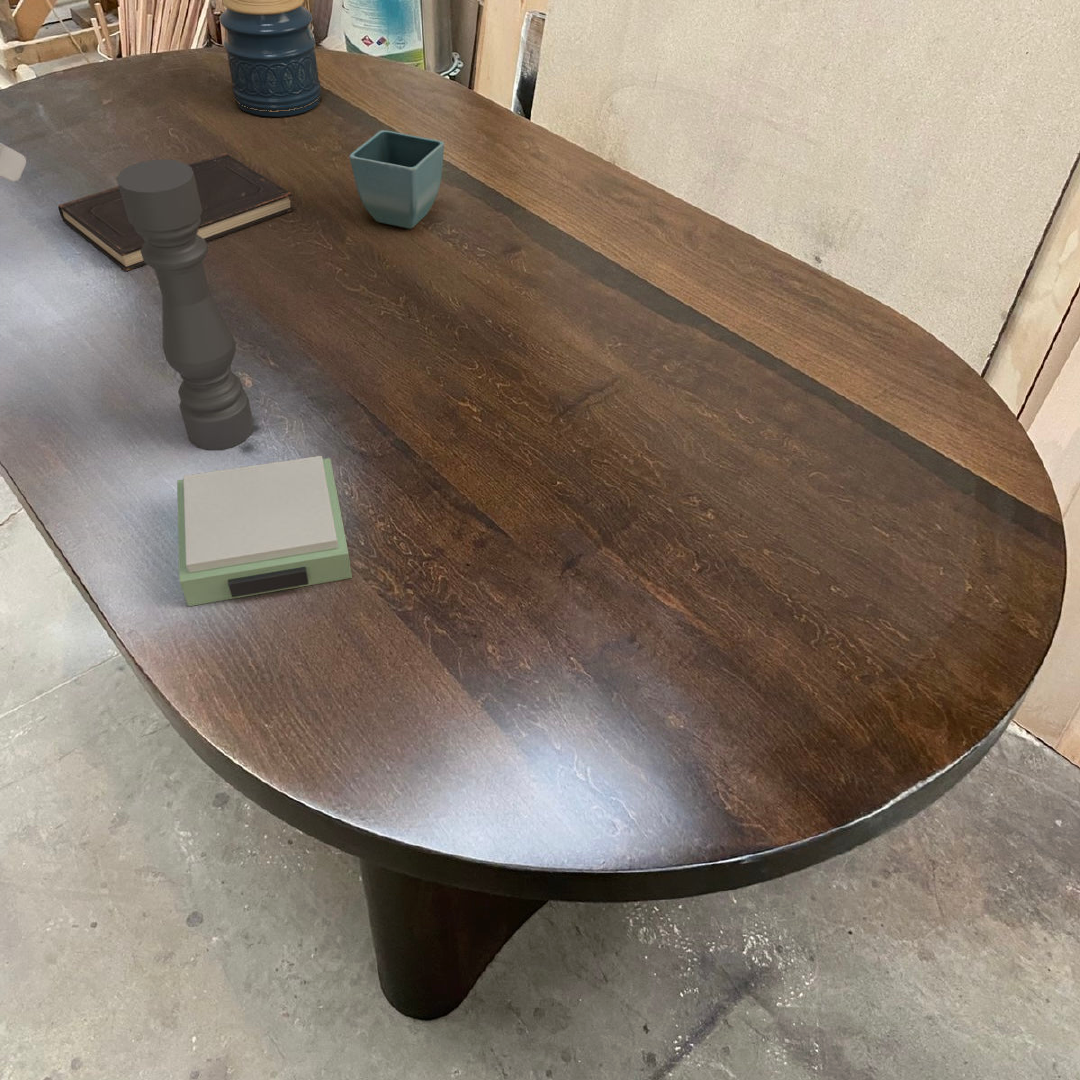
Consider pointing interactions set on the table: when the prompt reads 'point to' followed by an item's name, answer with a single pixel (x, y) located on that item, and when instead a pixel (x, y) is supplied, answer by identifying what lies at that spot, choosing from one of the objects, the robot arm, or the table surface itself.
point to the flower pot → (398, 176)
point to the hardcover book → (226, 208)
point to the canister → (271, 56)
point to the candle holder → (187, 301)
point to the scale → (259, 530)
